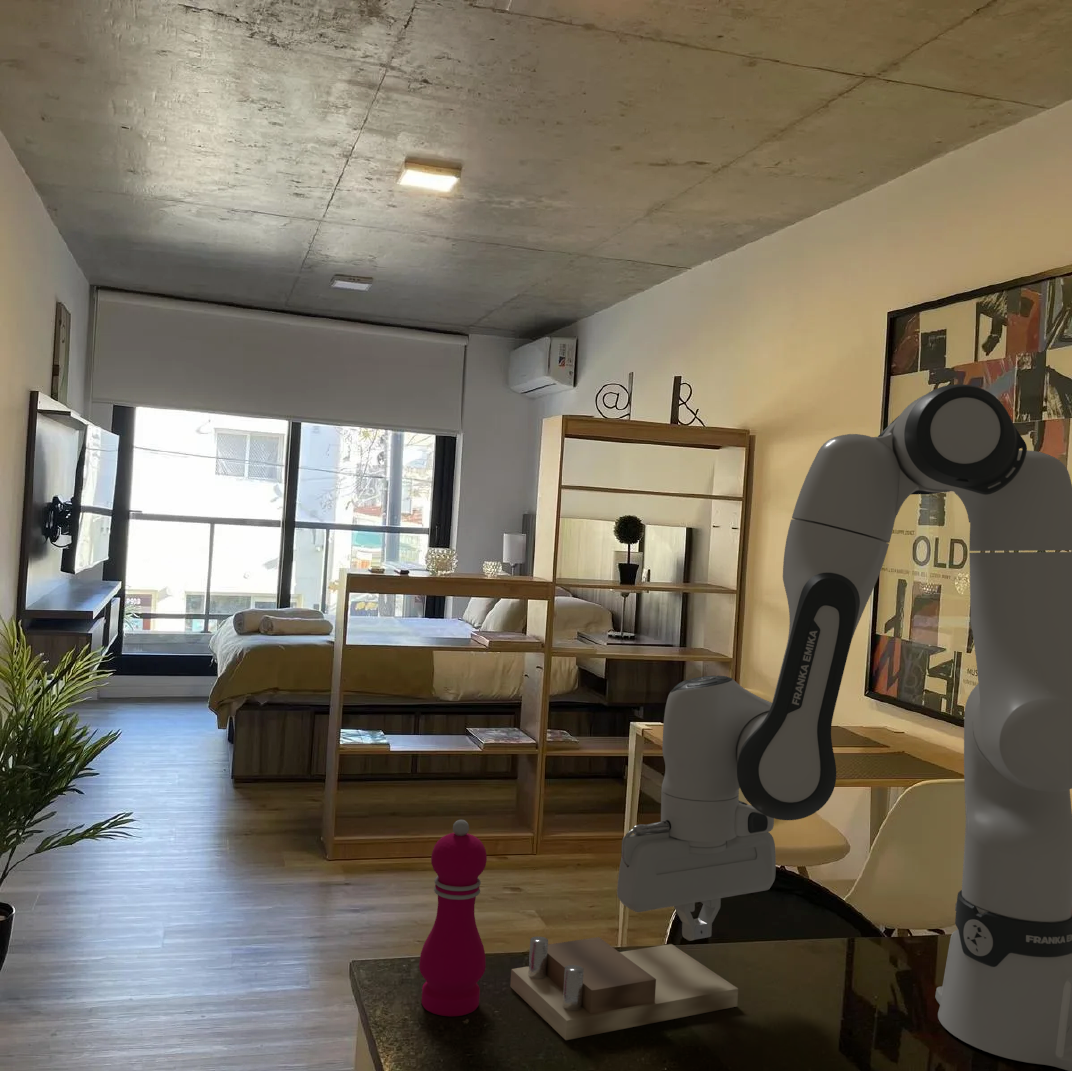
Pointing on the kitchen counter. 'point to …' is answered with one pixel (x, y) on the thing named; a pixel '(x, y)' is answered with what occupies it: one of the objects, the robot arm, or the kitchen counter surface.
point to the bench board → (676, 995)
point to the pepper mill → (454, 927)
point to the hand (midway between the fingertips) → (696, 937)
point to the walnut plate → (601, 975)
